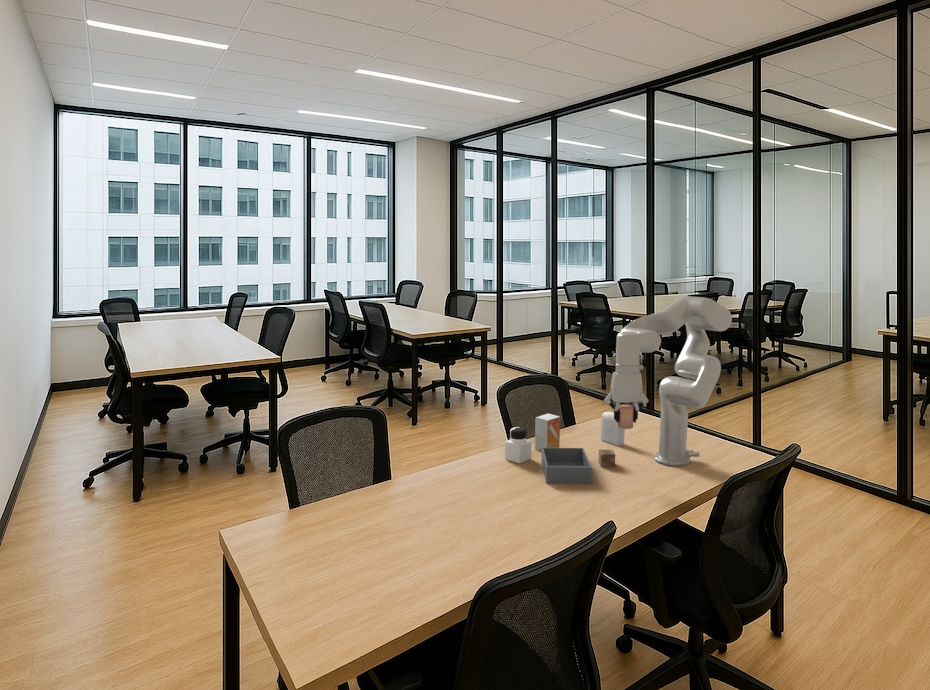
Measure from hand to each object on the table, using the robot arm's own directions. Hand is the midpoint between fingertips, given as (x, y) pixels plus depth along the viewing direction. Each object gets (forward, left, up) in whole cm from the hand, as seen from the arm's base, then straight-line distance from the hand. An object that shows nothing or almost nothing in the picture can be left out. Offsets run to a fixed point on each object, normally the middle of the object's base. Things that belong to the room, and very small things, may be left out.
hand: (625, 420), depth 205 cm
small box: (+23, -30, -21) cm, 43 cm away
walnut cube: (+3, -13, -21) cm, 25 cm away
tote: (+19, -5, -21) cm, 29 cm away
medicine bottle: (+35, -18, -21) cm, 45 cm away
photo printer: (-4, -38, -21) cm, 43 cm away
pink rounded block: (0, 0, -2) cm, 2 cm away
